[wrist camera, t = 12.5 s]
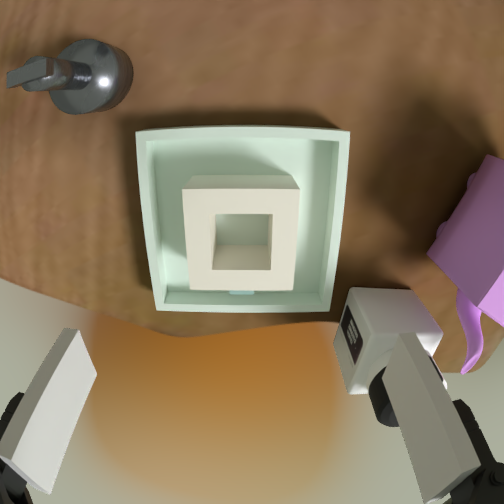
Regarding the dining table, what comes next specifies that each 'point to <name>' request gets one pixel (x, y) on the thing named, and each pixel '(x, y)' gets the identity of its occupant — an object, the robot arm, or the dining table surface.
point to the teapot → (476, 253)
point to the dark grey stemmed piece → (79, 77)
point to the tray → (243, 225)
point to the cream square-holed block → (241, 256)
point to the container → (380, 340)
